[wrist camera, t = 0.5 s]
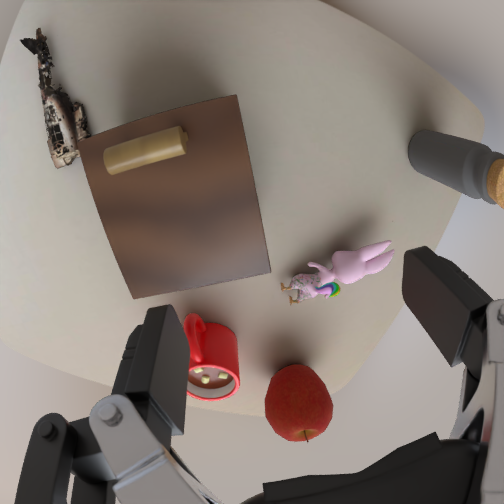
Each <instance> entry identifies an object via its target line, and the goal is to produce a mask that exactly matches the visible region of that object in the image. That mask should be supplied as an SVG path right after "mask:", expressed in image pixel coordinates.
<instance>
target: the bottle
mask: <svg viewBox="0 0 504 504" xmlns="http://www.w3.org/2000/svg"><path fill="white" fill-rule="evenodd" d="M408 155H409V160H410V163H411V165H412V167H413V168H414V169H415V170H416V171H417V172H419V173H421V174H423V175H425V176H427V177H430V178H432V179H434V180H436V181H438V182H440V183H442V184H445V185H447V186H449V187H451V188H453V189H455V190H457V191H459V192H461V193H463V194H465V195H467V196H469V197H471V198H474V199H480V198H482V199H483V200H484V201H486V202H488V203H490V204H498V205H499V206H501V207H502V208H503V209H504V155H503V154H501V153H498V152H492V151H491V149H490V148H489V147H488V146H486V145H484V144H481V143H478V142H474V141H471V140H467V139H463V138H460V137H456V136H452V135H447V134H443V133H439V132H434V131H429V130H423V131H420V132H418V133H417V134H415V135H414V136H413V138H412V140H411V141H410V144H409V150H408Z"/></svg>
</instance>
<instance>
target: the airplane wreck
mask: <svg viewBox="0 0 504 504" xmlns="http://www.w3.org/2000/svg"><path fill="white" fill-rule="evenodd" d="M36 38H37V39H36V40H35V39H33V38H32V39H30V38H24V40H20V41H21V42H22V44H23V45H24V46H25V47H26V48H28V49H29V50H30V51H31V52H32V53H33V54H34V55H35V54H38V57H37V58H38V70H39V75H40V76H39V79H40V84H39V85H38V86H39V87H40V90H41V97H42V102H43V108H44V116H45V123H46V124H47V127H48V128H47V127H46V130H47V129H48V130H47V131H49V136H48V138H50V139H49V140H48V141H47V143H48V146H49V150H50V154H51V158H52V160H53V162H54V165H55V167H56V168H57V169H58V168H60V167H63V166H65V165H70V164H72V162H73V160H74V159H75V158H76V157H81V156H80V152H79V149H78V145H77V142H79V141H82V140H84V139H86V138H89V137H91V135H89V133H88V131H87V130H86V128H87V125H86V124H87V122H86V118H85V114H84V109H83V107H82V105H83V104H82V105H81V104H80V103H79V102H78V103H77V102H76V103H75V104H72V103H71V102H70V101H69V98H68V97H67V94H66V93H64V92H61V91H60V90H61V89H62V88H61V87H59V89H57V90H54V89H53V88H52V87H51V86H53V85H51V79H52V77H51V76H50V77H51V78H49V75H48V76H47V77H46V76H45V73H46V72H48V74H50V75H51V71H50V69H51V68H50V67H51V66H52V67H53V66H54V65H53V64H52V62H49V61H47V60H48V59H51V60H52V57H51V56H50V57H48V56H49V55H50V53H49V49H48V47H46V46H47V44H46V40H47V38H46V36H45V37H44V35H43V34H42V33H41V29H40V28H38V29H36ZM44 50H45V51H44ZM47 52H48V53H47ZM42 54H43V55H42ZM49 72H50V73H49ZM54 85H55V84H54ZM59 85H60V84H59ZM74 107H75V109H76V110H75V111H73V108H74ZM47 134H48V133H47Z"/></svg>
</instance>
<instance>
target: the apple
mask: <svg viewBox="0 0 504 504" xmlns="http://www.w3.org/2000/svg"><path fill="white" fill-rule="evenodd" d="M332 412H333V403H332V400H331V398H330V395H329V393H328V390H327V388H326V386H325V384H324V383H323V381H322V380H321V379H320V378H319V376H318V375H317V374H316V373H315V372H314V370H312V369H311V368H310V367H308V366H305V365H290V366H287V367H285V368H283V369H281V370H280V371H278V372H277V373H276V374H275V375H274V376H273V377H272V378H271V381H270V384H269V387H268V391H267V394H266V397H265V415H266V418H267V420H268V422H269V423H270V425H271V426H272V428H273V429H274V431H275V433H277V434H278V435H280V436H282V437H283V438H285V439H286V440H288V441H306V440H307V442H308V440H309V439H312V438H314V437H316V436H318V435H319V434H321V433H323V432H324V431H325V429H326V428H327V426H328V425H329V423H330V421H331V419H332Z"/></svg>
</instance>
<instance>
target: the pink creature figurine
mask: <svg viewBox="0 0 504 504" xmlns="http://www.w3.org/2000/svg"><path fill="white" fill-rule="evenodd" d="M390 243H391V240H387V241H383V242H379V243H376V244H372V245H367V246H364V247H362V248H360V249H358V250H356V251H336V252H335V253H334V254H333V256H332V263H333V268H332V269H331V270H328V269H327V268H325V267H324V266H322V265H320V264H317V263H314V262H308V266H310V267H316V268H318V269H319V271H318V272H317V273H316V274H297V275H295V276H294V277H293V278H292V281H291V284H290V286H289V287H287V288H285V287H284V284H283V283H281V290H283V291H284V290H287V289H288V290H291V289H298V297H297V300H295V301H294V300H292V297H290V296H289V297H290V298H289V300H290V303H291V304H290V306H291V305H292V303H299V302H300V301H302V300H304V299H308V298H313V297H315V296H316V295H317V294H318V293H321V294H326V295H325V298H329V297H334V296H336V295H338V294H339V293H340V287H339V285H338V284H337V283H334V282H333V279H334V278H337V279H339V280H340V281H341V282H343V283H346V284H350V283H353V282H355V281H357V280H359V279H361V278H362V277H363V276H364V275H366V274H373V273H376V272H378V271H380V270H382V269H383V268H385V267H386V266H387V265H388V263H389V262H390V260H391V258H392V256H393V254H394V249H393V250H391V251H388V252H386V253H384V254H382V255H379V256H377V257H375V256H376V255H378V254H380V253H381V252H383V251H384V250H385V249H386V248H387V246H388V245H389V244H390ZM373 257H375V258H373ZM371 258H372V259H371ZM369 259H370V260H369ZM366 260H367V261H366ZM322 285H323V286H322ZM283 291H282V292H283Z"/></svg>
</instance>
